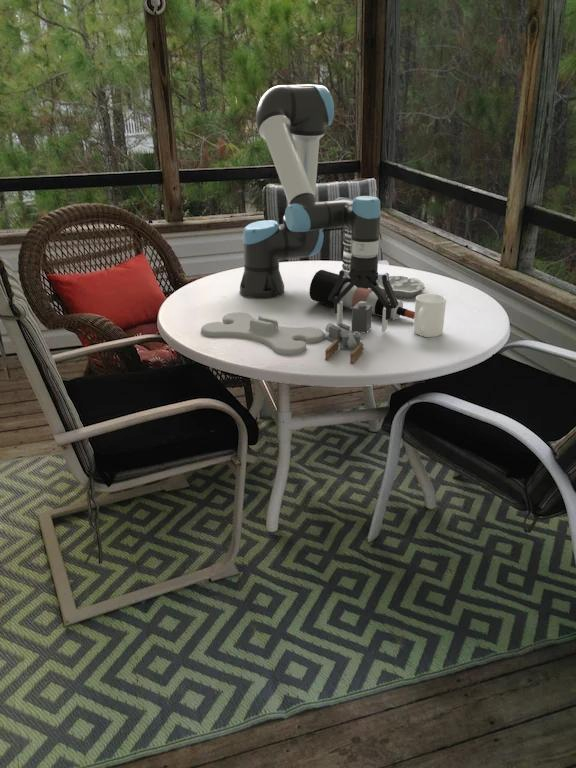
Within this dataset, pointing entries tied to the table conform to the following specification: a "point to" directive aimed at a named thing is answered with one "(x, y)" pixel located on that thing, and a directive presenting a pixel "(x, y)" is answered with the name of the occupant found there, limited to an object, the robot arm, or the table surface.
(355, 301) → the cable
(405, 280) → the brain slice
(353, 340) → the clip
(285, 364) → the table surface
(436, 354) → the table surface
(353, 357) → the end holder
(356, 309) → the block
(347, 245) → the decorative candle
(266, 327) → the holder
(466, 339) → the table surface
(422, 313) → the mug
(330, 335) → the clip
